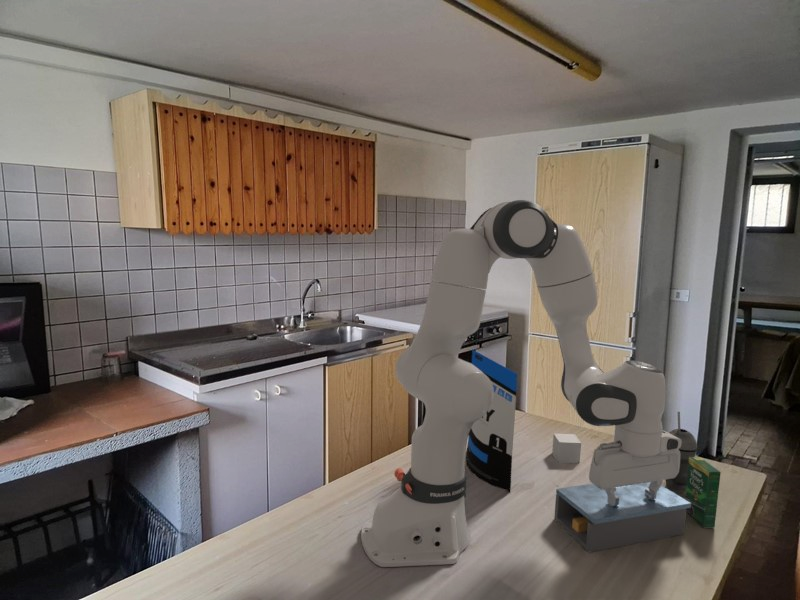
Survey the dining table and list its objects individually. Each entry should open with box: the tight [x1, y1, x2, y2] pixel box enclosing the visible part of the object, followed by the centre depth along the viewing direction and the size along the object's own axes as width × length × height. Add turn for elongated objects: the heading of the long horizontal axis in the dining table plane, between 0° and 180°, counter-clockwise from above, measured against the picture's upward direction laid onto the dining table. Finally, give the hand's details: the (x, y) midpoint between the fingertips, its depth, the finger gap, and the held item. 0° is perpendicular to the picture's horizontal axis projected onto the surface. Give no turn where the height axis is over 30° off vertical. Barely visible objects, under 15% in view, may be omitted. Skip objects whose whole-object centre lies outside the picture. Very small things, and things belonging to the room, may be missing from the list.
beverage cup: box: [665, 411, 698, 494], centre depth 127 cm, size 7×7×20 cm
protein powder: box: [465, 349, 518, 493], centre depth 134 cm, size 10×24×30 cm, turn 18°
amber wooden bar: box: [572, 517, 590, 532], centre depth 111 cm, size 22×2×2 cm, turn 107°
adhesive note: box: [551, 433, 582, 464], centre depth 144 cm, size 6×6×6 cm
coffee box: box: [684, 456, 721, 529], centre depth 114 cm, size 8×3×13 cm, turn 179°
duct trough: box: [553, 493, 687, 553], centre depth 111 cm, size 24×12×6 cm, turn 107°
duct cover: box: [555, 482, 691, 524], centre depth 110 cm, size 24×13×1 cm, turn 107°
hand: (631, 501), depth 107 cm, fingers open, 8 cm apart
